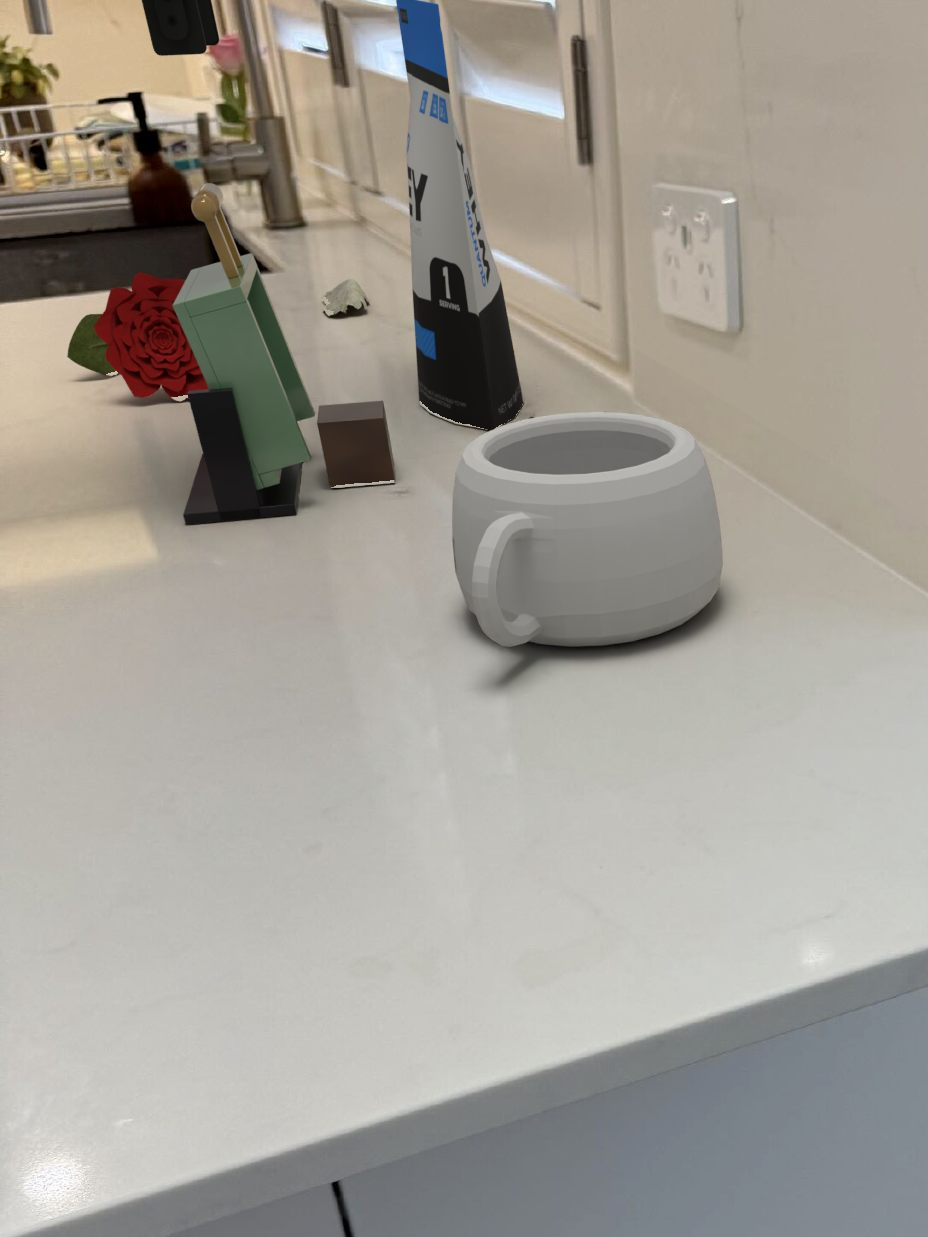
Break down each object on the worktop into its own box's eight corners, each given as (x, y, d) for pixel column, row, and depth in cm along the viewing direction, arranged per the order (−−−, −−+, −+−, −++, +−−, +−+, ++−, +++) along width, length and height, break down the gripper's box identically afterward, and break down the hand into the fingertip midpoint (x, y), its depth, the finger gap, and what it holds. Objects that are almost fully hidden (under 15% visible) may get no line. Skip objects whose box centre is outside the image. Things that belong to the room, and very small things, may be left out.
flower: (198, 263, 147) (209, 254, 122) (238, 370, 152) (256, 382, 128) (52, 299, 143) (32, 298, 119) (99, 407, 149) (89, 427, 124)
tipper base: (185, 525, 99) (150, 396, 94) (204, 462, 111) (174, 345, 106) (296, 515, 101) (268, 387, 95) (303, 454, 113) (278, 337, 107)
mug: (540, 545, 94) (522, 394, 88) (763, 572, 89) (761, 414, 83) (367, 670, 79) (331, 498, 72) (625, 712, 74) (610, 530, 67)
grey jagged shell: (320, 296, 162) (332, 262, 160) (358, 316, 164) (371, 283, 162) (323, 322, 153) (336, 287, 151) (363, 343, 155) (377, 308, 154)
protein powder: (497, 363, 135) (450, -6, 117) (547, 427, 117) (502, 1, 99) (402, 373, 133) (339, -2, 115) (439, 440, 115) (371, 7, 96)
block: (383, 417, 103) (395, 483, 106) (383, 400, 107) (394, 464, 110) (316, 422, 102) (330, 489, 105) (318, 405, 106) (331, 470, 109)
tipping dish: (134, 219, 89) (205, 199, 89) (157, 191, 99) (221, 174, 99) (253, 491, 100) (316, 473, 100) (263, 441, 110) (320, 425, 110)
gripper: (66, -286, 85) (146, 45, 95) (10, -330, 71) (111, 61, 82) (190, -287, 86) (255, 41, 96) (158, -330, 72) (238, 56, 83)
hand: (189, 50), depth 89 cm, fingers open, 9 cm apart
